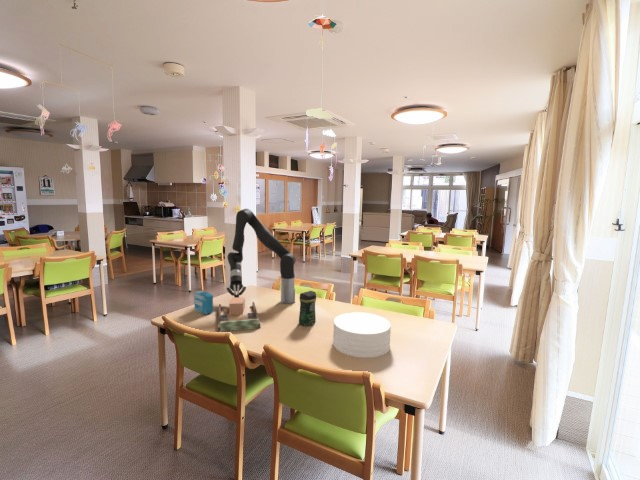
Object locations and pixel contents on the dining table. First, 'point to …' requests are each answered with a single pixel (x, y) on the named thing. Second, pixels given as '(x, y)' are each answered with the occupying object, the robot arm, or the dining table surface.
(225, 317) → the pads
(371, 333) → the plate stack
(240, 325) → the lane rails
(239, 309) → the terracotta block
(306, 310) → the coffee jar
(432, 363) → the dining table surface
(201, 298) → the data package
